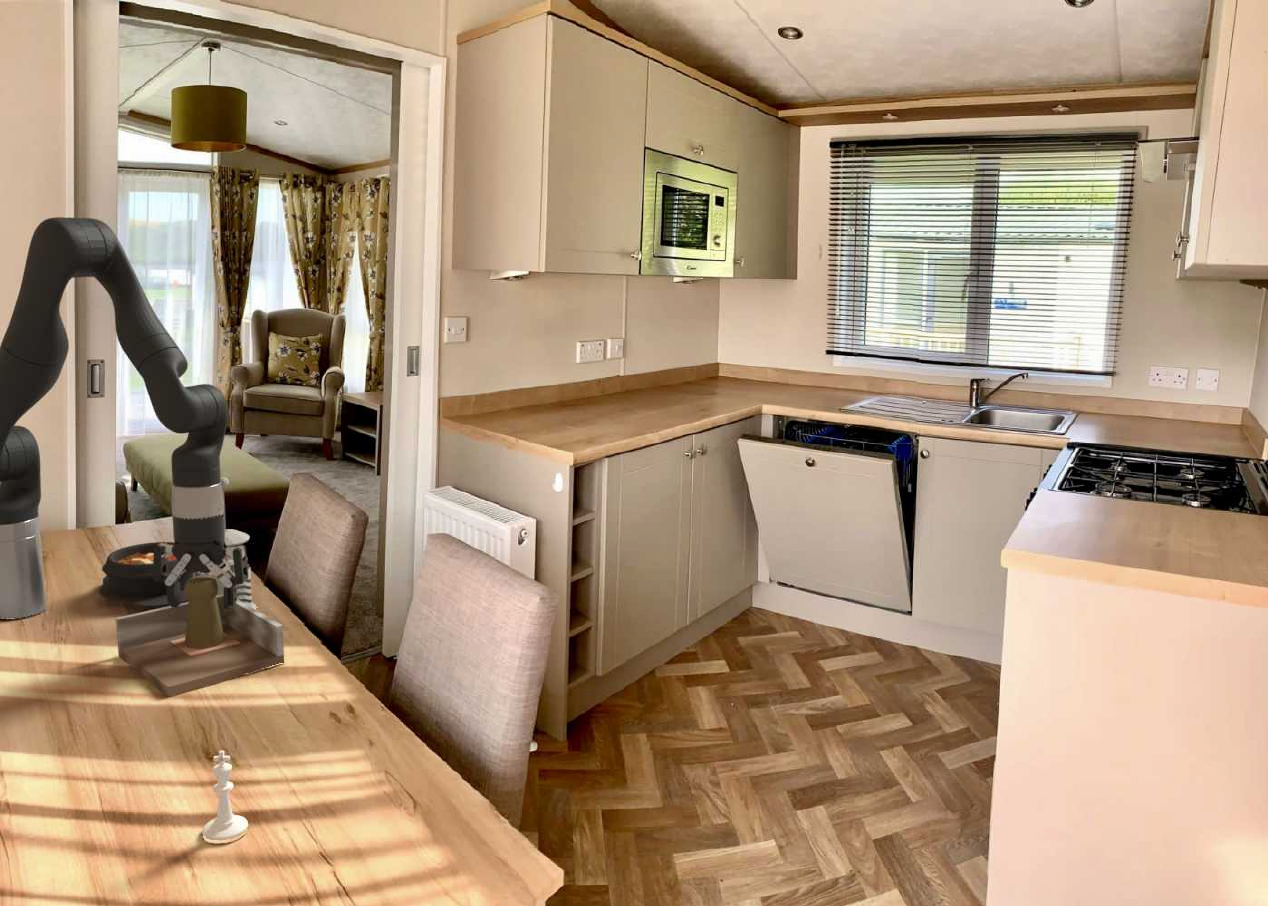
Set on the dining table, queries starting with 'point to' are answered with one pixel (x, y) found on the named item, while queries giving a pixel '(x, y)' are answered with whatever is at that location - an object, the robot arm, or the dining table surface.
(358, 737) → the dining table surface
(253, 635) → the board
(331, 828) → the dining table surface
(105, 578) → the casserole
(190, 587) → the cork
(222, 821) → the chess piece
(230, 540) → the french press
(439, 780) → the dining table surface
